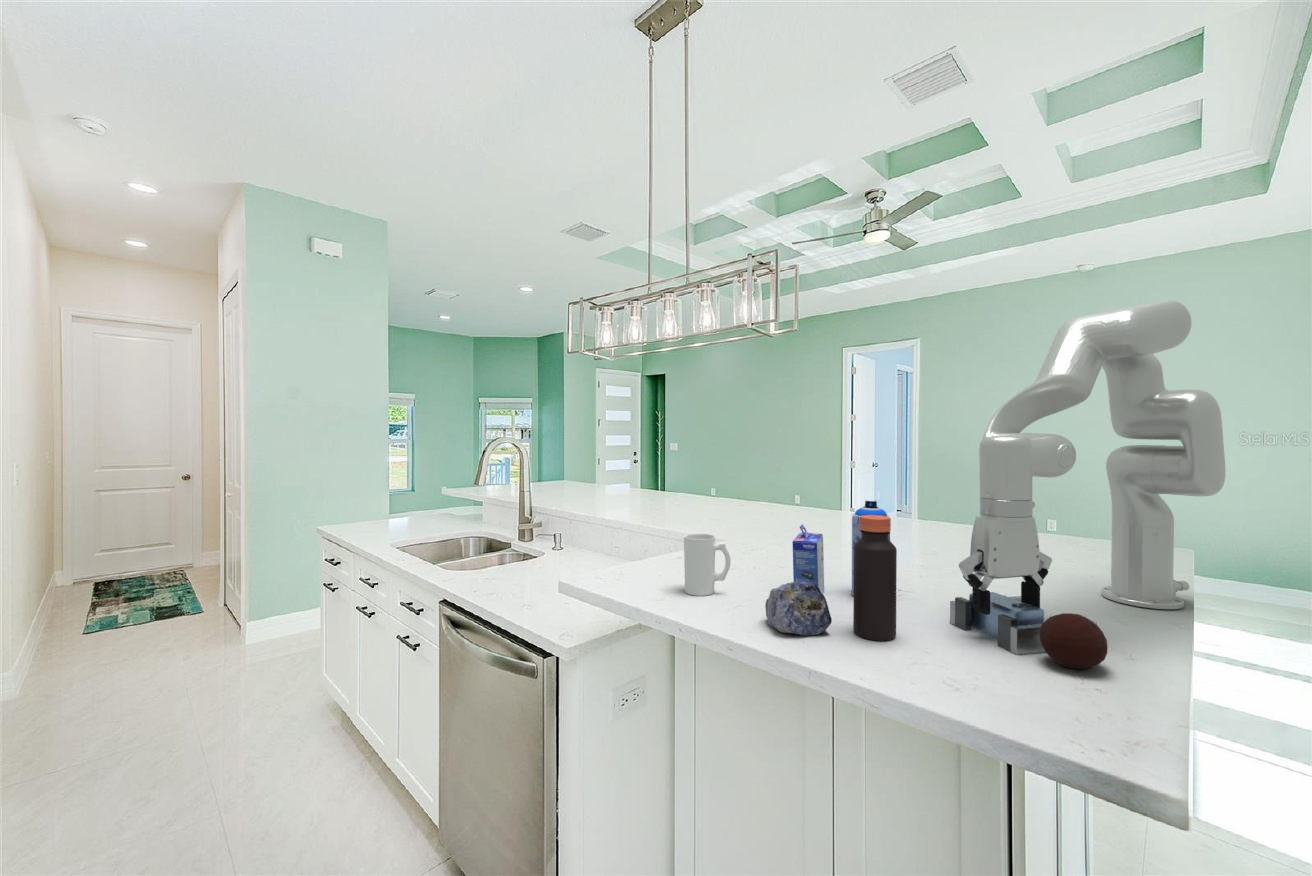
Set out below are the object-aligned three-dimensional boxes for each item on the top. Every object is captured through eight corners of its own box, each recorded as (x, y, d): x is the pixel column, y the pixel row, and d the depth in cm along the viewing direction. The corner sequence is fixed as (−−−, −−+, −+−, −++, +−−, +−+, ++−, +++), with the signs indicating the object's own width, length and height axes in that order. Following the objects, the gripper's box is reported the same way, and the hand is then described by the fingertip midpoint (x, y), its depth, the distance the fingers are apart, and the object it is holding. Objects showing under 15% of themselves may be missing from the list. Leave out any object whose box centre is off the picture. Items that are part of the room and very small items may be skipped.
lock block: (993, 625, 99) (993, 590, 99) (1043, 646, 89) (1043, 608, 89) (969, 627, 98) (969, 592, 98) (1017, 649, 88) (1018, 610, 88)
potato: (1023, 659, 84) (1024, 608, 84) (1069, 652, 87) (1070, 603, 87) (1077, 682, 76) (1077, 626, 76) (1126, 674, 79) (1126, 620, 79)
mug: (680, 595, 117) (680, 538, 117) (688, 586, 123) (688, 532, 123) (727, 599, 114) (727, 541, 114) (733, 590, 120) (733, 535, 120)
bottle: (887, 645, 90) (888, 521, 89) (846, 634, 94) (847, 517, 94) (902, 633, 95) (902, 516, 94) (862, 624, 99) (863, 512, 99)
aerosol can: (848, 598, 114) (849, 501, 114) (852, 588, 122) (853, 497, 121) (890, 603, 111) (890, 504, 111) (891, 593, 118) (892, 499, 118)
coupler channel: (1021, 617, 103) (1021, 590, 103) (1096, 647, 89) (1097, 616, 88) (950, 623, 100) (950, 595, 100) (1016, 654, 86) (1017, 622, 86)
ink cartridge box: (798, 586, 123) (799, 521, 123) (824, 589, 121) (824, 523, 121) (791, 598, 114) (791, 528, 114) (819, 601, 112) (819, 530, 112)
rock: (845, 620, 94) (814, 568, 95) (797, 654, 91) (766, 601, 92) (816, 613, 104) (789, 566, 105) (773, 643, 102) (745, 595, 102)
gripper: (1029, 503, 99) (1030, 598, 99) (944, 508, 95) (945, 606, 96) (1069, 509, 91) (1069, 612, 92) (978, 515, 88) (978, 621, 88)
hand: (1006, 609), depth 94 cm, fingers open, 9 cm apart
